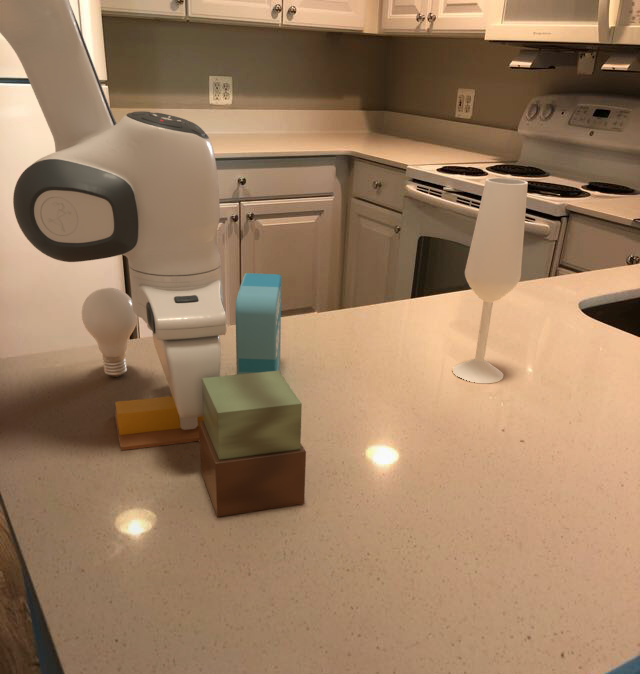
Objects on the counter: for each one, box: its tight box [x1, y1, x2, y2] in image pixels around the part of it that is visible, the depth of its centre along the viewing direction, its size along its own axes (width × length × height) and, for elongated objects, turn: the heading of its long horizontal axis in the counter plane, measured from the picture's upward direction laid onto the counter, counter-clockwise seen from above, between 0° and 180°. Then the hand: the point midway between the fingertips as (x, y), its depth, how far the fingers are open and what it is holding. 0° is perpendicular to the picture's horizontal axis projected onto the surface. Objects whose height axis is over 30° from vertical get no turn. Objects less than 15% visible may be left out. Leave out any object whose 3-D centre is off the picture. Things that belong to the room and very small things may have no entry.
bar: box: [114, 395, 204, 435], centre depth 76 cm, size 14×3×2 cm, turn 109°
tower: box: [199, 370, 307, 518], centre depth 64 cm, size 8×8×10 cm
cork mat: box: [114, 412, 200, 451], centre depth 77 cm, size 14×8×1 cm, turn 109°
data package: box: [235, 272, 282, 375], centre depth 86 cm, size 12×4×12 cm, turn 0°
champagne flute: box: [452, 177, 529, 384], centre depth 87 cm, size 7×7×24 cm
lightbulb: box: [81, 287, 138, 378], centre depth 85 cm, size 6×6×11 cm
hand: (184, 417), depth 76 cm, fingers closed on bar, 3 cm apart
